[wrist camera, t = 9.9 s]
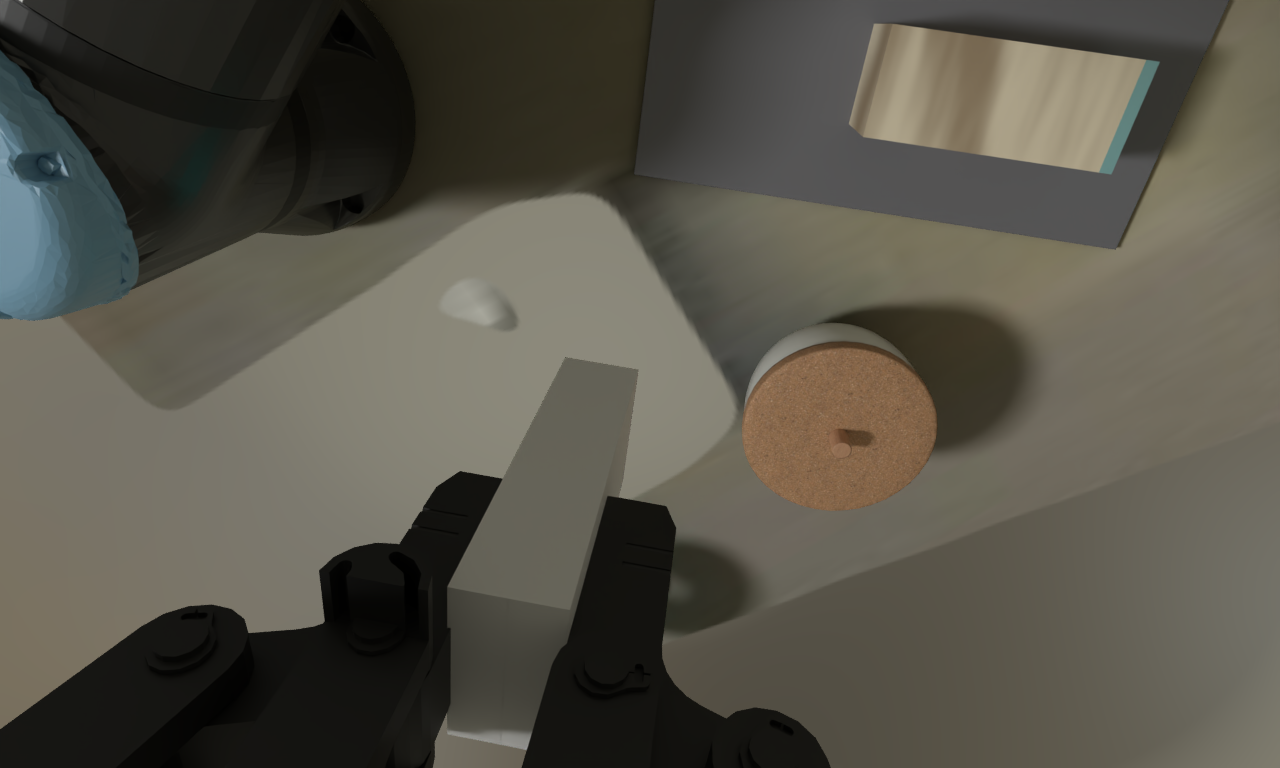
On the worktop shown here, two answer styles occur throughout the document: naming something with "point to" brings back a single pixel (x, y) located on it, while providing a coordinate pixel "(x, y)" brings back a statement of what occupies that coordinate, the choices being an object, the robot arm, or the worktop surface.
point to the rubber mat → (885, 170)
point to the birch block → (999, 97)
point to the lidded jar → (837, 418)
